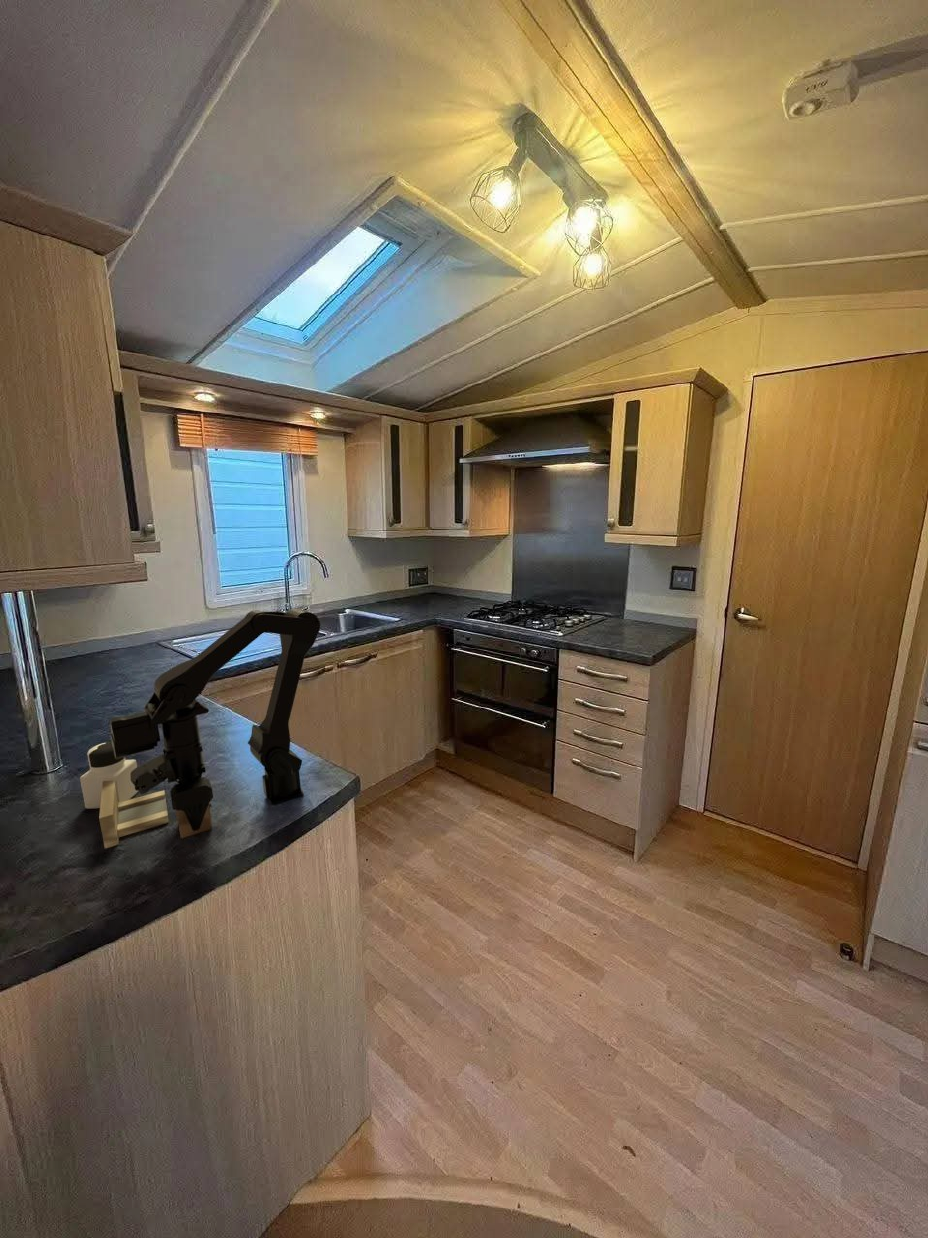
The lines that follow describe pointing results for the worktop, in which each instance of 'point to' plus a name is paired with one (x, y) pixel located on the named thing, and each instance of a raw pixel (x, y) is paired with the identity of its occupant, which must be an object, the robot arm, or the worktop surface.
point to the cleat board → (129, 813)
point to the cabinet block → (186, 827)
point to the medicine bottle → (106, 775)
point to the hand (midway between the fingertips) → (193, 817)
